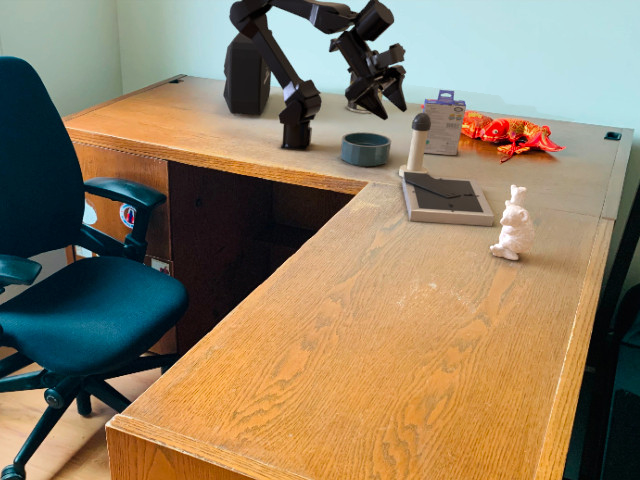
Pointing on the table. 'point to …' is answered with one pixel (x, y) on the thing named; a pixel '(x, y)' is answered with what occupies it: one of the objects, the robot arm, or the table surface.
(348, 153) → the bowl
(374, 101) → the robot arm
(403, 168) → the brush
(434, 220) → the picture frame
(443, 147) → the ink cartridge box
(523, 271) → the table surface
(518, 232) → the white animal figurine
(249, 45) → the black hard case
